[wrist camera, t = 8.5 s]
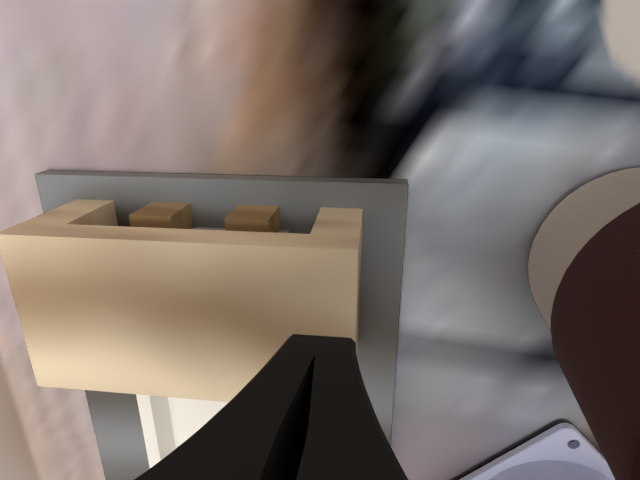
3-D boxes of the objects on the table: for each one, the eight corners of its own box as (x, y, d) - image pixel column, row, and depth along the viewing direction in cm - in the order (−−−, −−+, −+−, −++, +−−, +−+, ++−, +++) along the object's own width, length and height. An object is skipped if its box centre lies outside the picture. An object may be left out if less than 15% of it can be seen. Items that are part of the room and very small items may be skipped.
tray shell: (296, 460, 22) (289, 496, 20) (170, 448, 23) (152, 481, 21) (289, 230, 18) (279, 249, 16) (134, 224, 18) (107, 242, 17)
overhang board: (379, 576, 25) (380, 689, 21) (131, 544, 27) (80, 642, 22) (407, 179, 17) (417, 219, 12) (48, 170, 19) (-61, 202, 14)
